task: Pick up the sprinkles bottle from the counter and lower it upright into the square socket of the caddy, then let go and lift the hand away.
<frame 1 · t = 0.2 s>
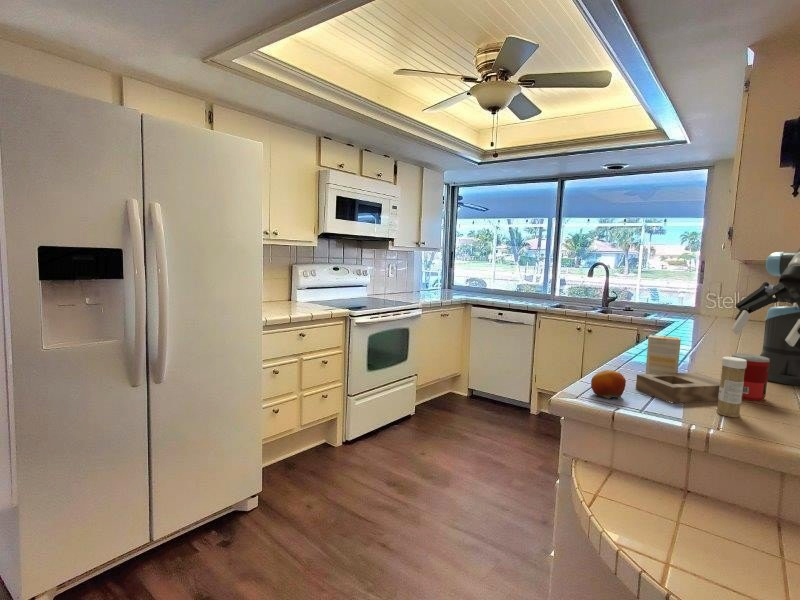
hand: (760, 337, 117), 16 cm above the countertop, tool tilted 35°, fingers open, 13 cm apart
canned food: (745, 397, 119), on the countertop
supplement box: (660, 380, 132), on the countertop
sprinkles bottle: (727, 415, 103), on the countertop
fruit: (607, 397, 114), on the countertop
caddy: (683, 394, 119), on the countertop
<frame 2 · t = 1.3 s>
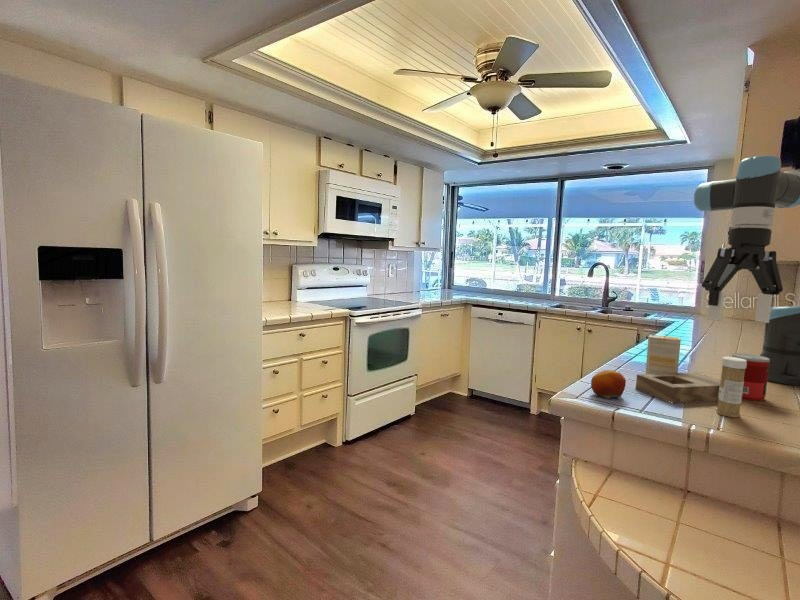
hand: (738, 321, 102), 22 cm above the countertop, tool pointing down, fingers open, 13 cm apart
nothing on the countertop moved.
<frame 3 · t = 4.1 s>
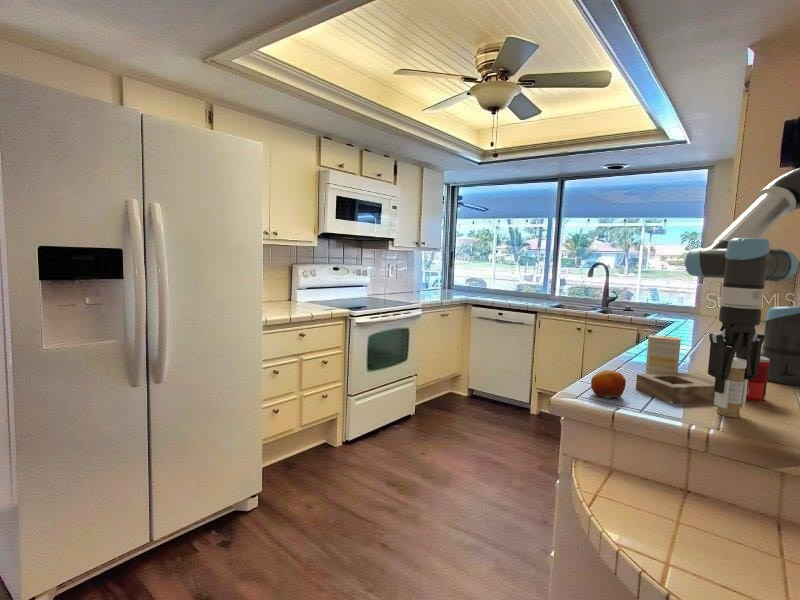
hand: (729, 405, 103), 2 cm above the countertop, tool pointing down, fingers closed on sprinkles bottle, 4 cm apart
sprinkles bottle: (727, 415, 103), on the countertop, touching gripper
everything else where it was.
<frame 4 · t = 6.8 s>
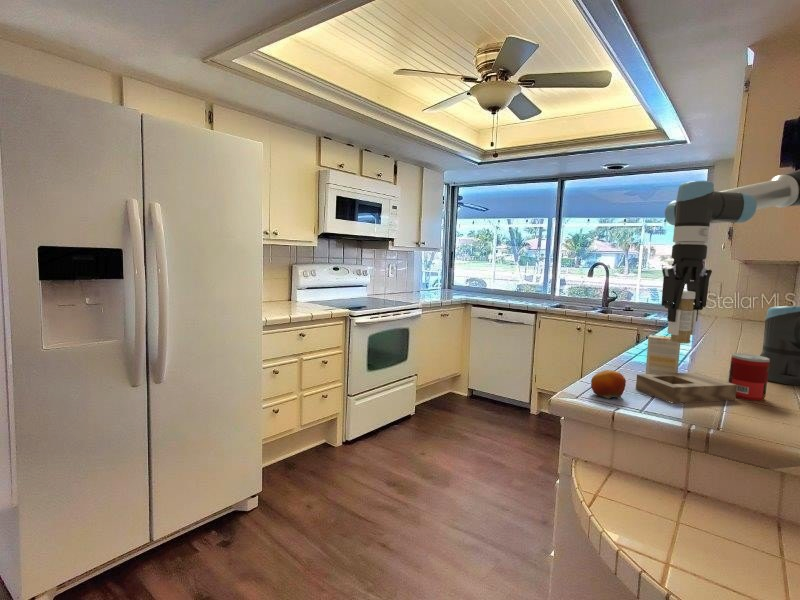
hand: (680, 333, 115), 17 cm above the countertop, tool pointing down, fingers closed on sprinkles bottle, 4 cm apart
sprinkles bottle: (680, 342, 116), point 14 cm above the countertop, touching gripper
everything else where it was.
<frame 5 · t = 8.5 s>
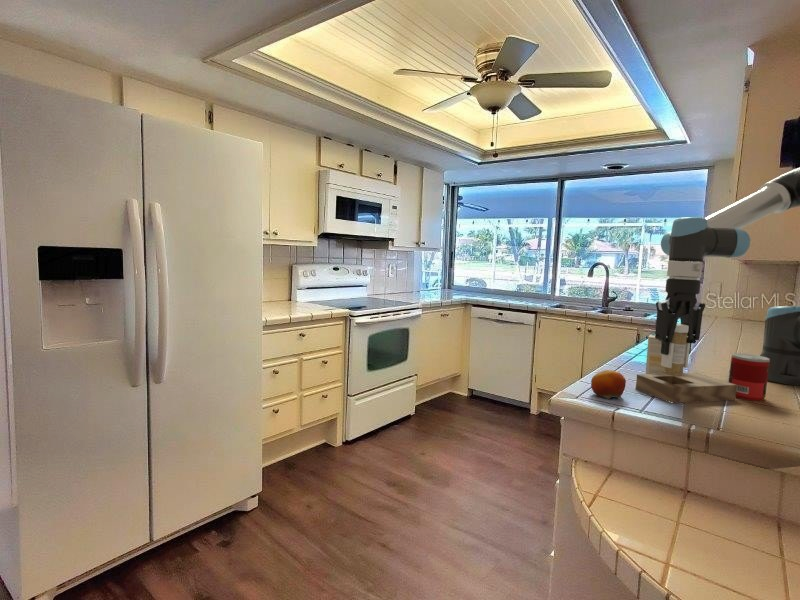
hand: (674, 366, 117), 8 cm above the countertop, tool pointing down, fingers closed on sprinkles bottle, 4 cm apart
sprinkles bottle: (673, 375, 117), point 5 cm above the countertop, touching gripper
everything else where it was.
when the fingers open (5 cm above the countertop, at t = 9.8 s): sprinkles bottle drops 2 cm, resting in caddy.
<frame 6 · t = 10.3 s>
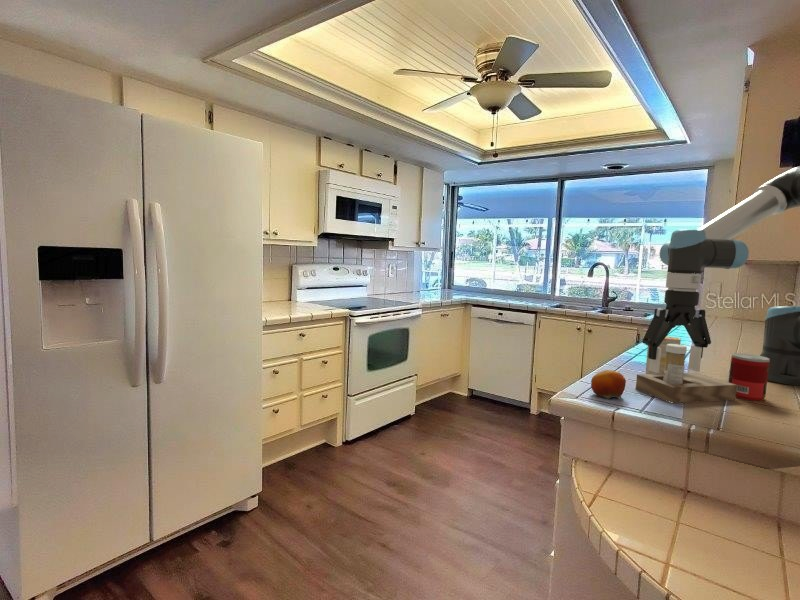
hand: (674, 371, 117), 6 cm above the countertop, tool pointing down, fingers open, 12 cm apart
sprinkles bottle: (671, 395, 118), resting in caddy
everything else where it was.
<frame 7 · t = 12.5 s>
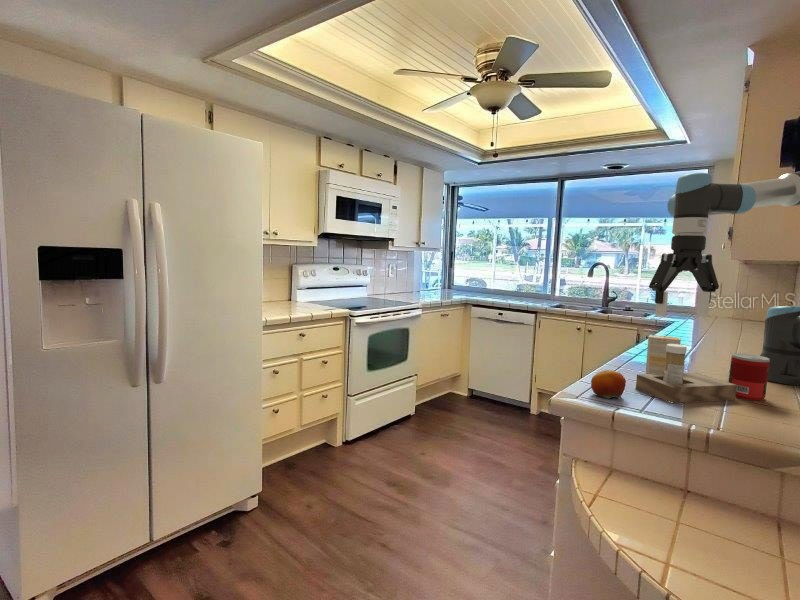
hand: (681, 316, 117), 21 cm above the countertop, tool pointing down, fingers open, 13 cm apart
nothing on the countertop moved.
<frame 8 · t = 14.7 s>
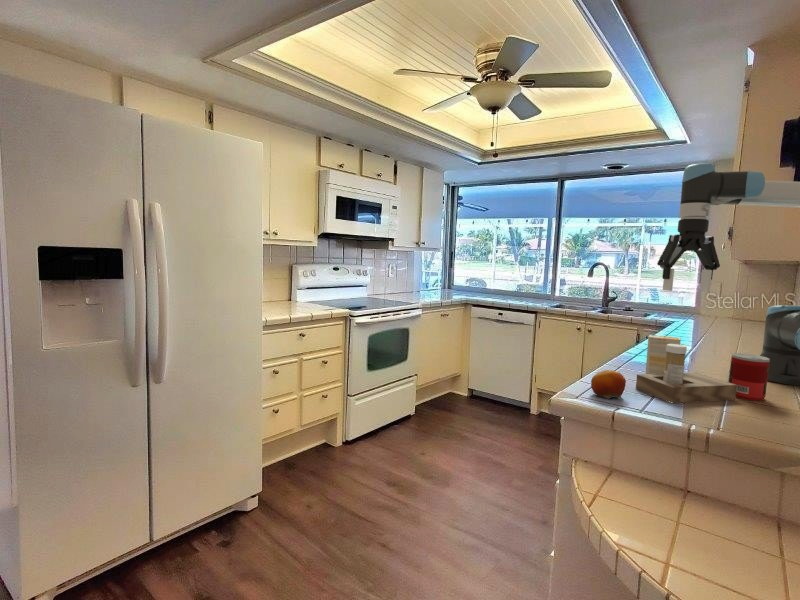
hand: (686, 291, 132), 27 cm above the countertop, tool pointing down, fingers open, 13 cm apart
nothing on the countertop moved.
at the end: sprinkles bottle 0.0 cm from the target spot on the caddy, point 0.0 cm above the caddy's base; sprinkles bottle tilted 0°; the gripper is holding nothing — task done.
